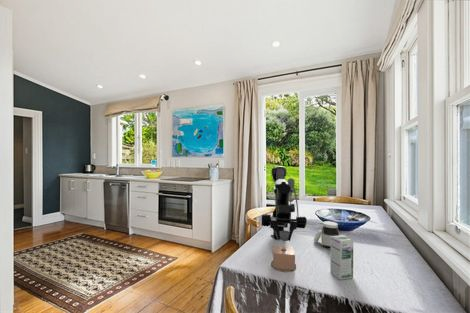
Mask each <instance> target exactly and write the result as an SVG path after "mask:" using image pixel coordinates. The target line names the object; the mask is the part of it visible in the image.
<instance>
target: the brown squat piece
mask: <svg viewBox="0 0 470 313" xmlns="http://www.w3.org/2000/svg"><path fill="white" fill-rule="evenodd" d="M272 256H273V258H272V260H271V262H270V263H271V266H270V267H272V269H275V270H276V271H279V272H286V273H288V272H294V271H296V269H297V264H296V253H295V250H294V247H293V246H286V245H285V251H282V245H273V255H272Z"/></svg>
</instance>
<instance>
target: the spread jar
mask: <svg viewBox="0 0 470 313" xmlns="http://www.w3.org/2000/svg"><path fill="white" fill-rule="evenodd" d="M338 225H339V224H338V223H337V222H334V221H331V220H330V221H329V220H327V221H325V220H324V221H323V222H322V227H321V229H319V230H317V232H316V234H315V235H314V236H315V237H314V238H313V242H314V243H316V244H317V243H318V242H319V241H320V239H321V246H322V247H323V248H325V249H328V250H331V236H340V231H339V229H338V228H339V226H338Z"/></svg>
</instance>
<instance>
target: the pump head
mask: <svg viewBox="0 0 470 313" xmlns="http://www.w3.org/2000/svg"><path fill="white" fill-rule="evenodd" d="M278 241H281V243H282V245H281V246H282V251H285V246H286V242H288V241H289V230H285V229H284V230H281V231H279V240H278Z"/></svg>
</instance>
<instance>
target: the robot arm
mask: <svg viewBox="0 0 470 313" xmlns="http://www.w3.org/2000/svg"><path fill="white" fill-rule="evenodd" d="M270 172H271V174H270V176H271V177H272V181H273V183H274V185H273V193H274V198H275V199H274V203H275V204H274V210H273V211H272V215H271V214H264V213H263V214H262V215H261V221H260V222H261V223H260V224H261V226H262V227H269V228H270V229H272V230H273V232H272V234H270V236H271V237H272V238H273V239H274V240H275V241H276V240H277V241H280V240H279V231H281V230H285V228H286V229H287V228H288V227H289V230H288V232H289V240H288V241H289V242H291V239H292V235H293V233H294V230H297V229H306V226H307V223H308V222H307V221H308V220H307V217H306V216H305V215H301V216H300V215H299V216H297V215H296V217H295V218H292V213H295V212H296V203H291V204H290V193H291V192H292V189H291V187H290V186H289V185H288V182H287V181H288V180H286V177H287V168H285V166H281V165H276V166H275V167H273V168H272V167H271V171H270ZM290 217H291V219H290ZM288 225H289V226H288Z"/></svg>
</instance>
